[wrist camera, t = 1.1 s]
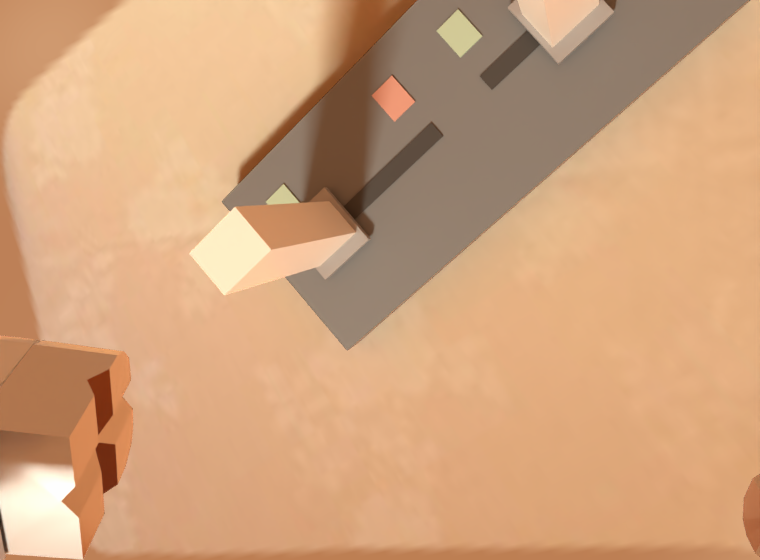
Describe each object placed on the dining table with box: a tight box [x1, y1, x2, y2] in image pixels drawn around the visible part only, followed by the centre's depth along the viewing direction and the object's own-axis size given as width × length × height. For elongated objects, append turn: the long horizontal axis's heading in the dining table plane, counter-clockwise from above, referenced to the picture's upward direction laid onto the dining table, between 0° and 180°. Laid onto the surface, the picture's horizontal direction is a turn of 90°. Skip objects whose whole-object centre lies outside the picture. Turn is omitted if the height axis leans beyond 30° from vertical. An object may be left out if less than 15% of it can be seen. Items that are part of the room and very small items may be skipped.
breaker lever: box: [189, 187, 371, 295], centre depth 37 cm, size 4×4×12 cm
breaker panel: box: [222, 0, 750, 350], centre depth 41 cm, size 29×12×2 cm, turn 133°
